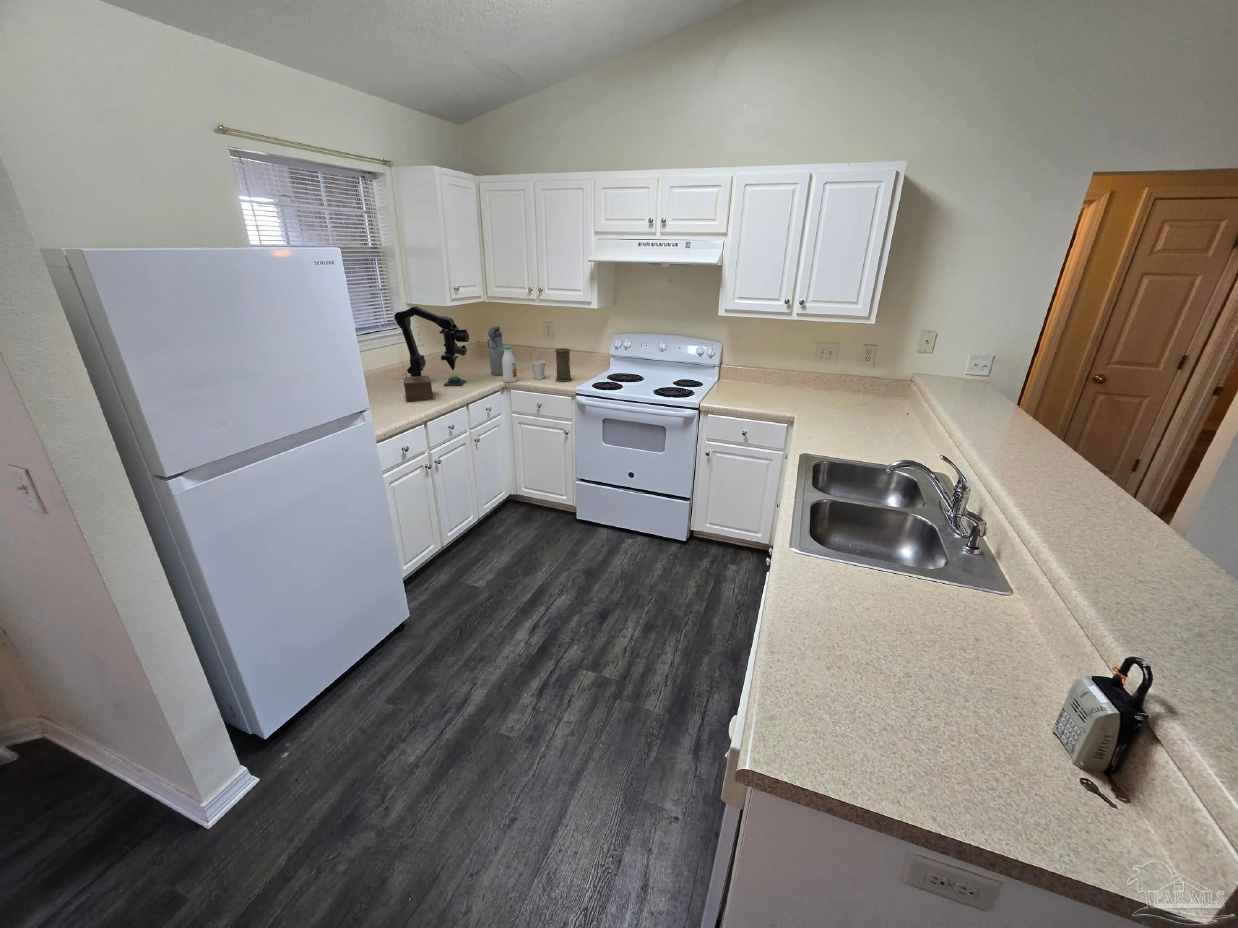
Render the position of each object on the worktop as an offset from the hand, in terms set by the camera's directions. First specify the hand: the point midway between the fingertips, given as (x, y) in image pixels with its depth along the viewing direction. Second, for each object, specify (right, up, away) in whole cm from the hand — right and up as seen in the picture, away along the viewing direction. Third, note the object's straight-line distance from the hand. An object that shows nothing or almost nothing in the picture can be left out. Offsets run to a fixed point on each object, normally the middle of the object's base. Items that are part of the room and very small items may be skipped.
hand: (453, 369), depth 286 cm
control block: (0, -7, +3) cm, 8 cm away
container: (+61, -4, +12) cm, 62 cm away
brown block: (-10, -19, -24) cm, 32 cm away
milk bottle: (+30, -5, +10) cm, 32 cm away
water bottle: (+20, +2, +27) cm, 33 cm away
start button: (0, -5, +2) cm, 5 cm away
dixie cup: (+46, -2, +17) cm, 49 cm away
